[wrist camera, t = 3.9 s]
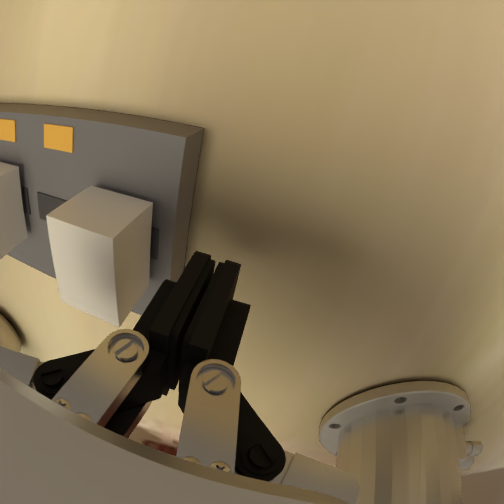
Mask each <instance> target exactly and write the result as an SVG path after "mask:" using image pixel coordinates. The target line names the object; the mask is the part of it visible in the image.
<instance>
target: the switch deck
mask: <svg viewBox="0 0 504 504" xmlns="http://www.w3.org/2000/svg"><path fill="white" fill-rule="evenodd" d="M203 133H204V128H200V127H195V126H190V125H185V124H180V123H175V122H170V121H165V120H159V119H153V118H147V117H141V116H135V115H129V114H122V113H115V112H107V111H100V110H91V109H82V108H73V107H62V106H49V105H34V104H13V103H0V162H3V163H7V164H11V165H14V166H18V167H19V176H20V186H21V195H22V203H23V210H24V217H25V223H26V229H27V235H28V237H27V238H26V239H25V240H24V241H22V242H21V243H20V244H19V245H17V246H16V247H15V248H14V249H12V250H11V251H10V252H9V253H7V255H9V256H11V257H13V258H15V259H17V260H19V261H21V262H23V263H25V264H27V265H29V266H31V267H33V268H35V269H37V270H39V271H41V272H43V273H45V274H47V275H49V276H51V277H53V278H56V274H55V269H54V264H53V258H52V253H51V247H50V240H49V233H48V226H47V218H46V215H47V214H49V213H50V212H52V211H53V210H55V209H56V208H57V207H59V206H60V205H62V204H63V203H65V202H66V201H68V200H69V199H71V198H72V197H74V196H75V195H77V194H79V193H80V192H82V191H83V190H85V189H86V188H88V187H90V186H95V187H98V188H102V189H106V190H109V191H113V192H117V193H120V194H124V195H127V196H131V197H135V198H138V199H142V200H145V201H149V202H153V210H152V226H151V245H150V275H149V286H148V288H147V289H146V291H145V292H144V293H143V295H142V296H141V298H140V299H139V300H138V302H137V303H136V305H135V306H134V307H133V309H132V310H131V311H132V312H135V313H137V314H140V315H142V314H143V313H144V311H145V309H146V308H147V306H148V305H149V303H150V301H151V300H152V298H153V297H154V295H155V294H156V292H157V290H158V289H159V287H160V286H161V284H162V283H163V281H164V280H166V279H168V280H171V281H174V282H177V281H178V279H179V278H180V276H181V274H182V273H183V271H184V264H185V255H186V247H187V239H188V231H189V223H190V216H191V209H192V202H193V195H194V188H195V181H196V175H197V169H198V162H199V156H200V150H201V144H202V139H203Z"/></svg>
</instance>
